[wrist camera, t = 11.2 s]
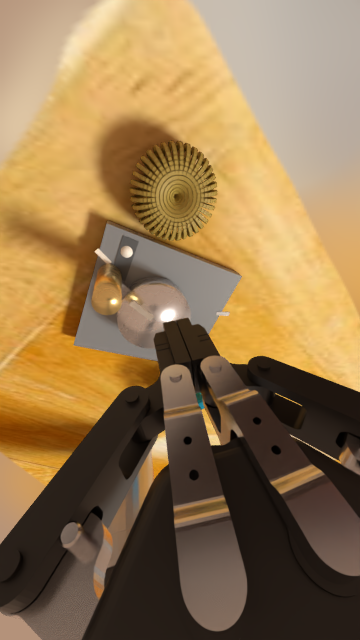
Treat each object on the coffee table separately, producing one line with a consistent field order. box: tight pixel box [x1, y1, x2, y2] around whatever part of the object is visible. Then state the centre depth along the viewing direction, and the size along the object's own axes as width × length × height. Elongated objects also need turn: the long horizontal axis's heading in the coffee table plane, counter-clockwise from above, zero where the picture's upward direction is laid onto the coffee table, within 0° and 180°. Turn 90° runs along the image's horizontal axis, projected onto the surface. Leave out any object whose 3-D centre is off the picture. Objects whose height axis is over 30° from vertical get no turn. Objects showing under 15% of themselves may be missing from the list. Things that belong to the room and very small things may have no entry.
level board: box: [74, 220, 242, 361], centre depth 29 cm, size 15×18×2 cm
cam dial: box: [91, 264, 191, 349], centre depth 25 cm, size 16×8×6 cm, turn 43°
